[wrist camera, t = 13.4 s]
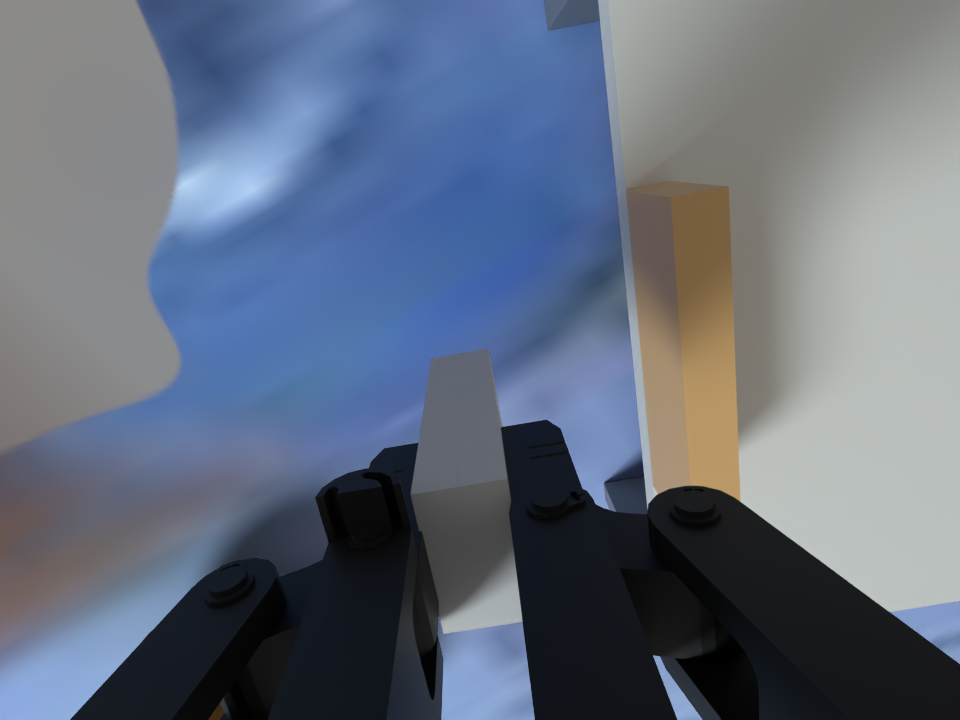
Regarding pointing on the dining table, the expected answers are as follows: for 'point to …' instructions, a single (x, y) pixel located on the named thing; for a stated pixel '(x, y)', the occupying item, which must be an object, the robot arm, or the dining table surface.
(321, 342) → the dining table surface
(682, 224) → the lid
